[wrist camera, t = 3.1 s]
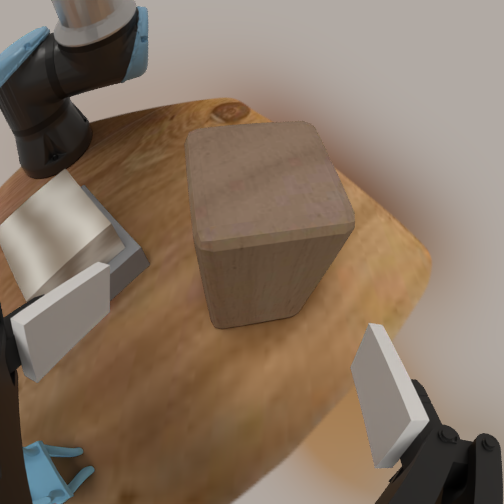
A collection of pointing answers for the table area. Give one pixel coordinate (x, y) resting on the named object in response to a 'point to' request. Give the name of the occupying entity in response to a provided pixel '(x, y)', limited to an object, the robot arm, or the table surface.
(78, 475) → the chair
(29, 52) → the robot arm
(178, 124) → the table surface
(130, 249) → the tower base
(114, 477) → the table surface
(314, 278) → the block
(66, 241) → the tower top
